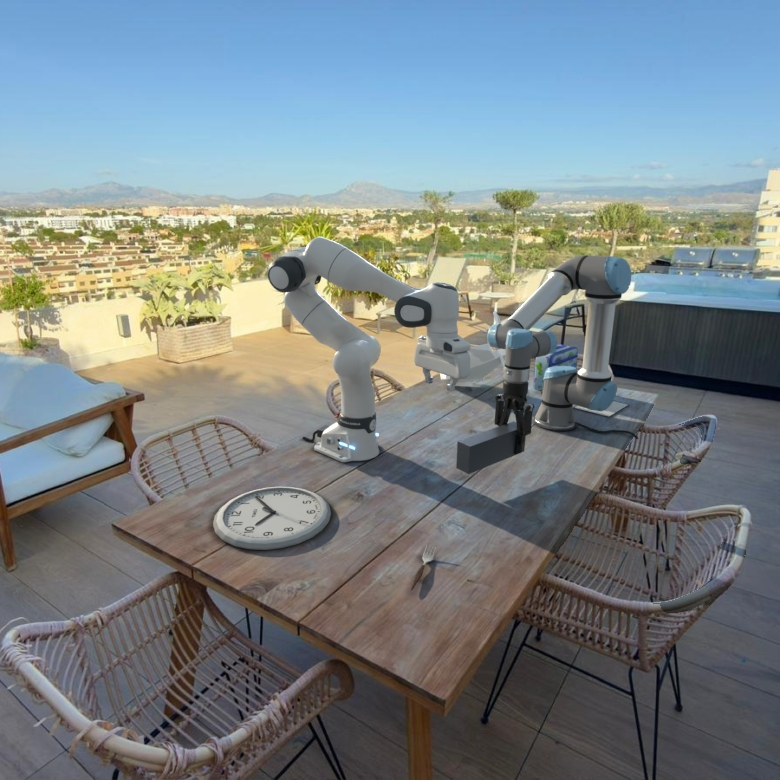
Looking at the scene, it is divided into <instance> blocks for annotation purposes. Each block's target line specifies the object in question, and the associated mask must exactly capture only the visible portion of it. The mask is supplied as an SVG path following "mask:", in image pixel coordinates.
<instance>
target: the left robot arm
mask: <svg viewBox="0 0 780 780" xmlns="http://www.w3.org/2000/svg"><path fill="white" fill-rule="evenodd" d="M266 275H267V279H268V282H269V283H270V285H271V287H272V288H273V289H275V291H277V292H279V293H284V296H283V303H284V305H285V307H286V308H287V310H288V311H289V313H290V314H291V315H292V317H293V318H294V319H295V320H296V321H297V322H298V324H299V325H301V326H302V327H303V329H305V330H306V331H307V332H308V333H309V334H310V335H311V336H312V337H313V338H314V339H315V340H316V341H317V342H319V343H320V344H322V345H325V346H327V347H329V348H331V349H332V350H334V351H335V353H334V355H333V357H332V361H331V362H332V368H333V370H334V372H335V373H336V375H337V379H338V383H339V386H340V388H339V389H340V402H341V403H340V409H341V410H340V411H338V413H335V414H334V419H336V418H337V419H336V421H335V422H334V423H332V424H331V425H324V426H321V427H319V428H318V429H316V430H315V431H313V433H312V438H308V437H306V436H302V440H305V441H307V442H309V443H311V442H314V441H316V436H317V438H320V441H318V442H316V444H315V445H314V447H313V451H315V452H318V453H320V454H322V455H325V456H327V457H329V458H332V460H333V459H334V460H336V461H338V462H340V463H349V462H361V461H368V460H371V459H373V458H376V457H377V456H378V455H380V449H379V446H378V441H377V437H379V435H380V433H379V432H376V428H377V412H376V390H375V387H374V385H373V380H372V374H371V371H372V367H374V365H376V363H377V362H378V361H379V359H380V356H381V352H382V347H381V343H380V342H379V340H378V339H377V338H376V337H374V336H373V335H370V334H368V333H367V332H365V331H363V330H362V329H361V328H359V327H357V326H356V325H355V324H353V323H352V322H351V321H349V320H348V319H346V318H345V317H344V316H342V314H340V312H339V311H338V310H337V309H335V308H334V307H333V306H332V304H330V303H329V302H328V301H327V300H326V299H325V298H324V297H323V296H322V295H321V294H320V293H319V292H318V291H317V289H316V285H318V284H320V282H321V281H322V278H323V279H325V280H326V281H328V282H329V283H332V284H333V285H334V286H336V287H338V288H341V289H343V290H346V291H348V292H370V293H376V294H378V295H380V296H383V297H385V298H387V299H388V300H391V301H392V302H393V303H395V306H394V311H393V312H394V317H395V320H396V321H397V322H398V324H399V325H401V326H402V327H403V328H408V329H415V328H421V327H426V336H425V335H420V336H419V337H418V338H417V339H416V345H415V349H414V357H413V363H414V365H415V366H416V367H420V368H422V373H423V375H424V382H425V384H432V383H433V382H434V381H433V380H434V378H433V376H432V374H431V371H432V372H435V373H437V374H440V373H441V374H444V375H447V376H450V380H451V382H450V384H448V385H446V390H447V391H448V392H455V390H456V385H457V384H456V383H457V382H458V380H459V379H464V378H467V377H468V376H469V374H470V355H469V353H468V352H467V351H469V350H470V348H471V347H472V346H471V343H470V342H469V341H467V340H466V339H464V338H463V337H462V336H460V334H458V333H459V329H458V319H459V315H460V297H459V291H458V289H457V288H456V287H455V286H454V285H451V284H449V283H446V282H432V283H430V284H429V285H428V286H427V287H424V288H417V287H413V286H410V285H408V284H406V283H405V282H403V281H402V280H399V279H397V278H395V277H393V276H392V275H390V274H388V273H386V272H384V271H382V270H381V269H379V268H378V267H376V266H375V265H374V264H372V263H370V262H369V261H368V260H366V259H365V258H364V257H361V256H360V255H359V254H357V253H356V252H354V251H353V250H351V249H350V248H348V247H346V246H345V245H342V244H341V243H338V242H337V241H334V240H331V239H329V238H326V237H322V236H317V237H314V238H312V239H311V240H310V241H309V242H308V243H307V244H305V245H302V246H300V247H297V248H293V249H291V250H289V251H287V252H286V253H284V254H282V255H281V256H278V257H276V258H274V259H273V261H271V262H270V264H269V265H268V267H267V272H266Z"/></svg>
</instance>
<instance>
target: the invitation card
mask: <svg viewBox="0 0 780 780" xmlns="http://www.w3.org/2000/svg"><path fill="white" fill-rule="evenodd" d="M628 406H629V404H627V403H623V402H618V401H614V400H613V402H612V403H611V405H610V406H609V407H608V408H607V409H606V410H604V411H596V410H590V409H588V408H584V407H581V406H578V405H575V406H574V407H573V409H575V410H581V411H584V412H587V413H593V414H596V415H600V416H604V417H608V418H609V417H611V416H613V415H614V414H616V413H617V412H619V411H621V410H623V409H624V408H626V407H628Z"/></svg>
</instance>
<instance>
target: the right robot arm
mask: <svg viewBox="0 0 780 780" xmlns="http://www.w3.org/2000/svg"><path fill="white" fill-rule="evenodd" d="M631 283H632V269H631V266H630V264H629V262H628V261H627V260H626V259H624V258H623V257H617V256H608V255H587V254H582V255H576V256H574V257H571V258H569V259H567V260H565V261H563V262H562V263H561V264H559V265H558V266H556V267H555V268H554V269H553V270H551V272H549V274H548V275H547V276H546V281H545V282H543V284H542V285H540V286H539V288H538V289H537V290H536V291H535V292H534V293H533V294H532V295H530V297H529V298H528V299H527V300H525V302H524V303H522V304H521V306H520V307H519V308H518V309H516V310H515V312H514V313H513V314H511V316H510V317H509V318H508V319H507V320H506V321H505V322H504V323H503V324H502V323H501V324H502V325H501V324H496V323H495V324H493V325H491V326H490V327H489V329H488V330H487V334H486V339H487V343H488V344H489V345H490V346H492V347H494V348H497V349H506V352H505V367H504V370H503V379H504V380H503V382H502V392H503V393H500V394H496V395H495V396H494V399H495V410H494V411H495V413H494V425H495V426H497V427H499V426H502V425H505V424H508V423H509V422H508V421H509V419H510V417H511V414H512V411H513V415H514V416H515V422H516V423H517V431H518V434H517V435H516V437H515V449H514V454H515V455H514V456H516V455H519V454H522V453H523V452H522V445H523V444H524V439H525V436H526V437H527V436H529V435H531V434H532V423H533V411H534V410H535V407H536V406H535V404H534V403H530V402H529V401H528V398H527V396H526V395H527V393H528V390H529V383H530V382H528V381H530V372H531V371H530V370H531V360H532V359H536V357H540V356H546V355H548V354H550V353H552V352H554V351H555V349H556V347H557V345H558V339H557V336H556V335H555V333H553V332H552V331H551V330H540V331H534V330H531V329H532V328H533V327H534V326H535V325H536V323H538V321H540V320H541V318H543V316H545V314H546V313H547V312H548V311H549V310H550V309H551V308H552V307H553V306H554V305H556V303H557V302H558V301H559V300H560V299H562V297H563V296H567V295H569V294H570V293H571V292H572V291H575V290H583V291H585V293H584V297H585V299H586V300H587V301H588V308H587V318H586V327H585V336H584V337H585V338H584V348H583V357H582V367H581V368H580V369H578V368H577V367H576V368H575V367H572V366H554V367H550V368H547V369H546V371H545V374H544V378H543V379H544V381H543V391H541V392H542V394H541V402H540V405H539V407H538V410H537V411H536V413H535V416H534V424H535V425H536V426H537V427H539V428H542V429H544V430H549V431H556V432H567V431H572V430H574V429H575V428H576V425H577V426H580V427H582V428H583V429H586V430H589V431H592V432H595V433H599V434H611V433H620V434H621V433H622V434H628V435H631V436H632V437H634V439H636V440H639V437H638V435H637V434H636V433H634V432H633V431H630V430H623V429H609V430H600V429H595V428H593V427H591V426H587V425H586V424H582V423H580V422H577V421H576V418H575V417H576V416H575V413H574V407H573V405H574V406H581V407H584V408H588V409H590V410H596V411H604V410H606V409H607V408H608V407H609V406H610V405H611V403H612V402H613V401H614V400H615V398H616V396H617V392H618V385H617V382H615V381H613V380H612V377H613V374H612V372H610V370H609V363H610V355H611V347H612V339H613V337H612V336H613V331H614V323H615V322H614V321H615V315H616V314H615V313H616V306H617V305H616V304H617V302H619V301H620V300H621V299H622V295H623V294H626V293H627V292H628V290H630V286H631ZM525 440H526V439H525ZM521 452H522V453H521Z"/></svg>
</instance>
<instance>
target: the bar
mask: <svg viewBox="0 0 780 780" xmlns="http://www.w3.org/2000/svg"><path fill="white" fill-rule="evenodd" d="M517 434H518V431H517V423H516V421H511V422H508V423H507V424H505V425H502V426H496V427H494V428H490V429H488V430H485V431H482V432H479V433H476V434H474V435H471V436H468V437H465V438H462V439H460V440H457V441H456V442H457V443H456V465H455V468H456V469H458V470H460V471H461V472H463V473H466V474H467V475H471V474H473V473H475V472H477V471H480V470H483V469H485V468H487V467H490V466H492V465H495V464H497V463H500V462H502V461H505V460H507V459H509V458H512V457H514V456H516V455H515V454H514V449H515V437H516V435H517ZM526 437H527V435H526V436H525V439H524V444H523V445H522V452H521V453H520V454H522V453H524V452H525V449H526Z"/></svg>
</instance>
